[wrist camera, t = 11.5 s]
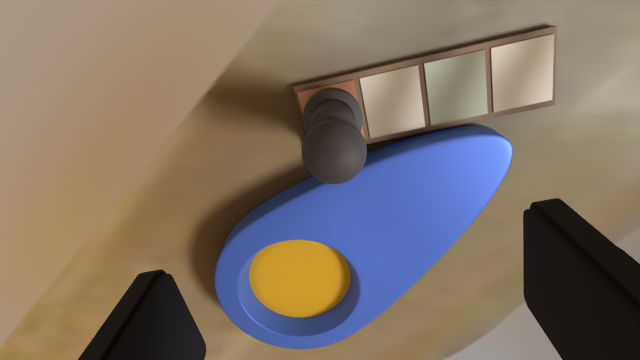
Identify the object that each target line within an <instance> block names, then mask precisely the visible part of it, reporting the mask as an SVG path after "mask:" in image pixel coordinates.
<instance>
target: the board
mask: <svg viewBox="0 0 640 360" xmlns="http://www.w3.org/2000/svg"><path fill="white" fill-rule="evenodd" d="M556 35H557V26H549V27H545V28H541V29H536V30H532V31H528V32H523V33H519V34H515V35H510V36H506V37H502V38H498V39H493V40H489V41H485V42H480V43H476V44H472V45H467V46H463V47H459V48H454V49H450V50H446V51H442V52H437V53H433V54H429V55H424V56H420V57H416V58H411V59H407V60H403V61H399V62H394V63H390V64H386V65H381V66H377V67H373V68H368V69H364V70H360V71H356V72H351V73H347V74H343V75H338V76H334V77H330V78H325V79H321V80H317V81H312V82H308V83H304V84H300V85H295V86H293V89H294V93H295V97H296V101H297V105H298V109H299V112H300V116H301V120H302V116H303V111H304V107H305V105H306V103H307V101H308V100H309V98H310V97H311V96H312V95H314V94H315V93H316V92H318V91H320V90H322V89H326V88H339V89H342V90H345V91H347V92H349V93H350V94H351V95H352V96H353V97H354V98H355V99H356V100H357V102H358V103H359V106H360V108H361V111H362V116H363V125H362V129H361V133H362V135H363V137H364V139H365V142H366V144H370V143H375V142H380V141H385V140H389V139H394V138H399V137H404V136H408V135H413V134H418V133H423V132H427V131H432V130H437V129H442V128H446V127H451V126H456V125H461V124H465V123H470V122H475V121H480V120H484V119H489V118H494V117H499V116H503V115H508V114H513V113H518V112H522V111H527V110H532V109H537V108H541V107H546V106H551V105H555V70H556ZM305 136H306V134H305Z"/></svg>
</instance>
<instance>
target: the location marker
mask: <svg viewBox="0 0 640 360" xmlns="http://www.w3.org/2000/svg"><path fill="white" fill-rule="evenodd" d="M512 155H513V148H512V145H511V143H510V141H509V140H508V139H507V138H505V137H504V136H502V135H501V134H499V133H498V132H496V131H494V130H493V129H491V128H489V127H486V126H482V125H461V126H453V127H448V128H443V129H438V130H434V131H430V132H426V133H422V134H419V135H415V136H412V137H409V138H405V139H402V140H399V141H396V142H393V143H390V144H388V145H385V146H382V147H379V148H377V149H374V150H371V151H369V152H367V157H366V161H365V164H364V166H363V168H362V170H361V171H360V172H359V173H358V175H356V176H355V177H354V178H353V179H351V180H349V181H347V182H345V183H341V184H327V183H324V182H321V181H319V180H317V179H316V178H314V177H313V176H312V177H310V178H308V179H305V180H303V181H301V182H299V183H297V184H295V185H293V186H292V187H290V188H288V189H286V190H284V191H283V192H281V193H279V194H277V195H276V196H274V197H272V198H271V199H269V200H267V201H266V202H264V203H262V204H261V205H259V206H258V207H256V208H255V209H254V210H252V211H251V212H249V213H248V214H247V215H246V216H244V217H243V218H242V219H241V220H240V221H239V222H238V223H237V224H236V225H235V226H234V228H233V229H232V230H231V232H230V233H229V235H228V237H227V239H226V241H225V244H224V246H223V249H222V251H221V254H220V256H219V258H218V261H217V265H216V269H215V290H216V294H217V297H218V300H219V303H220V305H221V307H222V308H223V310H224V312H225V313H226V315H227V316H228V317H229V318H230V320H231V321H232V322H233V323H234V324H235V325H236V326H237V327H239V328H240V329H241V330H242V331H244V332H245V333H247V334H248V335H250V336H252V337H254V338H256V339H258V340H260V341H262V342H265V343H268V344H271V345H274V346H278V347H284V348H292V349H309V348H317V347H322V346H327V345H330V344H333V343H336V342H338V341H341V340H343V339H345V338H347V337H349V336H350V335H352V334H354V333H355V332H357V331H358V330H360V329H361V328H363V327H364V326H366V325H367V324H368V323H370V322H371V321H372V320H374V319H375V318H376V317H377V316H379V315H380V314H381V313H382V312H384V311H385V310H386V309H387V308H388V307H390V306H391V305H392V304H393V303H394V302H395V301H397V300H398V299H399V298H400V297H401V296H402V295H403V294H404V293H405V292H406V291H407V290H408V289H409V288H411V287H412V286H413V285H414V284H415V283H416V282H417V281H418V280H419V279H420V278H421V277H422V276H423V275H424V274H425V273H426V272H427V271H428V270H429V269H430V268H431V267H432V266H433V265H434V264H435V263H436V262H437V261H438V260H439V259H440V258H441V257H442V256H443V255H444V254H445V252H446V251H447V250H448V249H449V248H450V247H451V246H452V245H453V244H454V243H455V242H456V241H457V239H458V238H459V237H460V236H461V235H462V234H463V233H464V232H465V230H466V229H467V228H468V227H469V226H470V225H471V223H472V222H473V221H474V220H475V219H476V217H477V216H478V215H479V214H480V212H481V211H482V210H483V208H484V207H485V206H486V204H487V203H488V202H489V200H490V199H491V198H492V196H493V195H494V193H495V192H496V190H497V189H498V187H499V185H500V184H501V182H502V180H503V179H504V177H505V175H506V173H507V171H508V169H509V166H510V163H511V160H512Z"/></svg>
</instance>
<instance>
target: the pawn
mask: <svg viewBox="0 0 640 360" xmlns="http://www.w3.org/2000/svg"><path fill="white" fill-rule="evenodd" d="M362 125H363V116H362V111H361V108H360V106H359V103H358V102H357V100H356V99H355V98H354V97H353V96H352V95H351V94H350V93H349V92H347V91H345V90H342V89H339V88H326V89H322V90H320V91H318V92H316V93H315V94H314V95H312V96H311V97H310V98H309V100H308V101H307V103H306V105H305V107H304V111H303V116H302V126H303V130H304V132H305V134H306V136H305V138H304V141H303V145H302V159H303V162H304V165H305V167H306V169H307V170H308V172H309V173H310V174H311V175H312V176H313V177H314V178H316V179H317V180H319V181H321V182H324V183H327V184H341V183H345V182H347V181H349V180H351V179H353V178H354V177H355V176H356V175H358V173H359V172H360V171H361V170H362V168H363V166H364V164H365V161H366V157H367V146H366V142H365V139H364V137H363V135H362V133H361V129H362Z"/></svg>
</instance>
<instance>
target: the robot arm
mask: <svg viewBox="0 0 640 360" xmlns="http://www.w3.org/2000/svg"><path fill="white" fill-rule="evenodd" d="M523 239H524V297H525V301H526V303H527V306H528V308H529V309H530V311H531V312H532V314H533V315H534V317H535V319H536V320H537V321H538V323H539V324H540V326H541V328H542V329H543V330H544V332H545V334H546V335H547V336H548V338H549V340H550V341H551V343H552V344H553V346H554V347H555V349H556V350H557V352H558V353H559V355H560V356H561V358H562V359H563V360H640V264H639V263H638V262H637V261H635V260H634V259H633V258H632V257H631V256H629V255H628V254H627V253H626V252H625V251H623V250H622V249H620V248H619V247H617V246H615V245H614V244H613V243H612V242H611V241H610V240H609V239H607V238H606V237H605V236H604V235H603V234H601V233H600V232H599V231H598V230H597V229H595V228H594V227H593V226H592V225H591V224H589V223H588V222H587V221H586V220H585V219H583V218H582V217H581V216H580V215H579V214H578V213H576V212H575V211H574V210H573V209H572V208H570V207H569V206H568V205H567V204H566V203H564V202H563V201H562V200H560V199H559V198H555V199H549V200H544V201H538V202H533V203H532V204H531V206H530V209H527V210H525V211H524V215H523ZM205 355H206V345H205V342H204V339H203V337H202V335H201V333H200V331H199V329H198V327H197V325H196V323H195V321H194V319H193V317H192V315H191V313H190V311H189V309H188V307H187V305H186V303H185V301H184V299H183V297H182V295H181V293H180V291H179V289H178V287H177V285H176V283H175V281H174V279H173V277H172V275H170V274H166V272H165V271H163V270H155V271H150V272H144V273H141V274H139V275H138V276H137V277H136V279H135V280H134V281H133V283H132V284H131V286H130V287H129V288H128V290H127V291H126V293H125V294H124V295H123V297H122V298H121V300H120V301H119V302H118V304H117V305H116V307H115V308H114V310H113V311H112V312H111V314H110V315H109V317H108V318H107V319H106V321H105V322H104V324H103V325H102V326H101V328H100V329H99V331H98V332H97V333H96V335H95V336H94V338H93V339H92V341H91V342H90V343H89V345H88V346H87V348H86V349H85V350H84V352H83V353H82V355H81V356H80V357H79V359H78V360H204V358H205Z"/></svg>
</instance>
